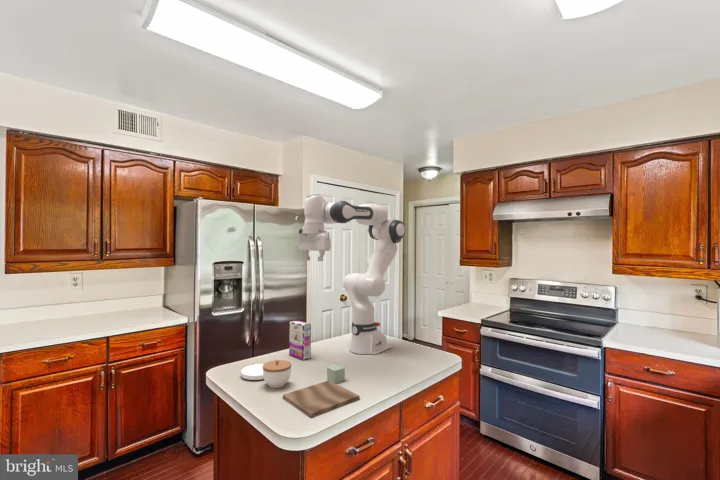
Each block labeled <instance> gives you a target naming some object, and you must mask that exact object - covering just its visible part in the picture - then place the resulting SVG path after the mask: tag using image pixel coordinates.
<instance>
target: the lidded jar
mask: <svg viewBox="0 0 720 480" xmlns="http://www.w3.org/2000/svg"><path fill="white" fill-rule="evenodd" d="M263 364H264V365H263V377H264V379H263V381H264V382H265V383H266V385H268V387H269V388H271V389H278V388H279V389H280V388H282V387H284V386H285V385H286V384H287V382H289V380H290V377H291V372H292V363H291V361H288V360H286V359H285V360H283V359H276V360H271V361H270V360H269V361H266V362H265V363H263Z"/></svg>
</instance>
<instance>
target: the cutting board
mask: <svg viewBox="0 0 720 480" xmlns="http://www.w3.org/2000/svg"><path fill="white" fill-rule="evenodd" d="M282 399H283V400H285V401H286V402H288V403H289V404H290V405H292V406H293V407H294V408H296V409H297V410H299V411H300V412H302V413H303V414H305V415H306V416H308V417H309V418H314V417H316V416H319V415H321V414H325V413H326V412H330V411H333V410H334V409H338V408H340V407H343V406H345V405H347V404H350V403H353V402H355V401H358V400H360V395H359V394H357V393H355V392H353V391H352V390H350V389H347V388H346V387H343V386H341V385H340V384H338V383H334V382H332V381H330V380H325V381H323V382H319V383H315V384H313V385H310V386H306V387H303V388H300V389H296V390H294V391H290V392H288V393H284V394H282Z"/></svg>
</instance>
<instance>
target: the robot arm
mask: <svg viewBox="0 0 720 480" xmlns="http://www.w3.org/2000/svg"><path fill="white" fill-rule="evenodd" d="M303 212H304V222H303V225H302V227H300V228H299V229H297V234H298V236H297V248H298V250H299V251H303V255H304V258H305V259H304V260H305V261H311V256H310V254H309V253H310V251H313V252H314V251H316V252H317V251H318V253H319V257H317V261H318V262H323V261H324V257H325V254H326V252H329V251H331V249H332V242H331V236H330V232H329V231H328V230H327V229H325V224H327V225H329V224H331V225H332V224H347V223H350V222H351V221H353V220H355V221H356V223H358V224H360V225H364V226H368V235H369V237H370V238H371V239H373V240H374V241H379V244H378V246H377V247H376V248H375V249H374V250H373V252H372V254H371V255H370V256H369V258H368V259H367V260H366V267H367V270H366V272H364V273H361V272H360V273H359V272H354V273H349V274H347V275H345V277H344V278H343V281H342V285H343V288H344V289H345V291H346V292H347V294H348V296H349V299H350V303H351V307H352V308H351V309H352V322H351V332H352V333H351V341H350V346H349V352H351V353H354V354H359V355H378V354H380V352H381V353H383V352H385V351H387V349H388V350H390V349H392V345H391V344H389V343H388V341H387V336H386V334H384V333H383V332H381V331H380V330H379V329H378V327H379V328H380V326H381V322H377V321H375V306H374V305H373V303H372V302H371V301H370V298H369V297H379V296H381V295H383V294H384V292H385V290H386V282H385V278H384V277H385V273H386V271H387V270H388V268H389V267H390V265H391V264H392V263H393V260H394V259H395V256H396V254H397V253H398V244H399V243H400V242H401V241H402V239H403V238H404V236H405V233H406V226H405V223H404V222H403V221H401V220H398V219H388V216H389V214H388V210H387V209H386V207H384V206H383V205H378V204H374V203H363V204H362V203H361V204H359V205H353V204H351V203H350V202H348V201H346V200H340V201H336V202H330V201H328V200H327V199H326V198H324V196H323V194H321V193H320V194H319V193H318V194H311V195H308V196H306V197H305V200H304V211H303ZM389 348H390V349H389ZM384 350H385V351H384ZM382 351H383V352H382Z"/></svg>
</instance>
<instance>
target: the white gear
mask: <svg viewBox="0 0 720 480" xmlns="http://www.w3.org/2000/svg"><path fill="white" fill-rule="evenodd" d="M264 364H265V363H256V364H255V363H254V364H250V365H247V366H245V367H243V368H242V369H241V370H240V377H241V378H243V379H245V380H249V381H250V380H252V381H257V380H260V381H261V380H264V377H263V365H264Z"/></svg>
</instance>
